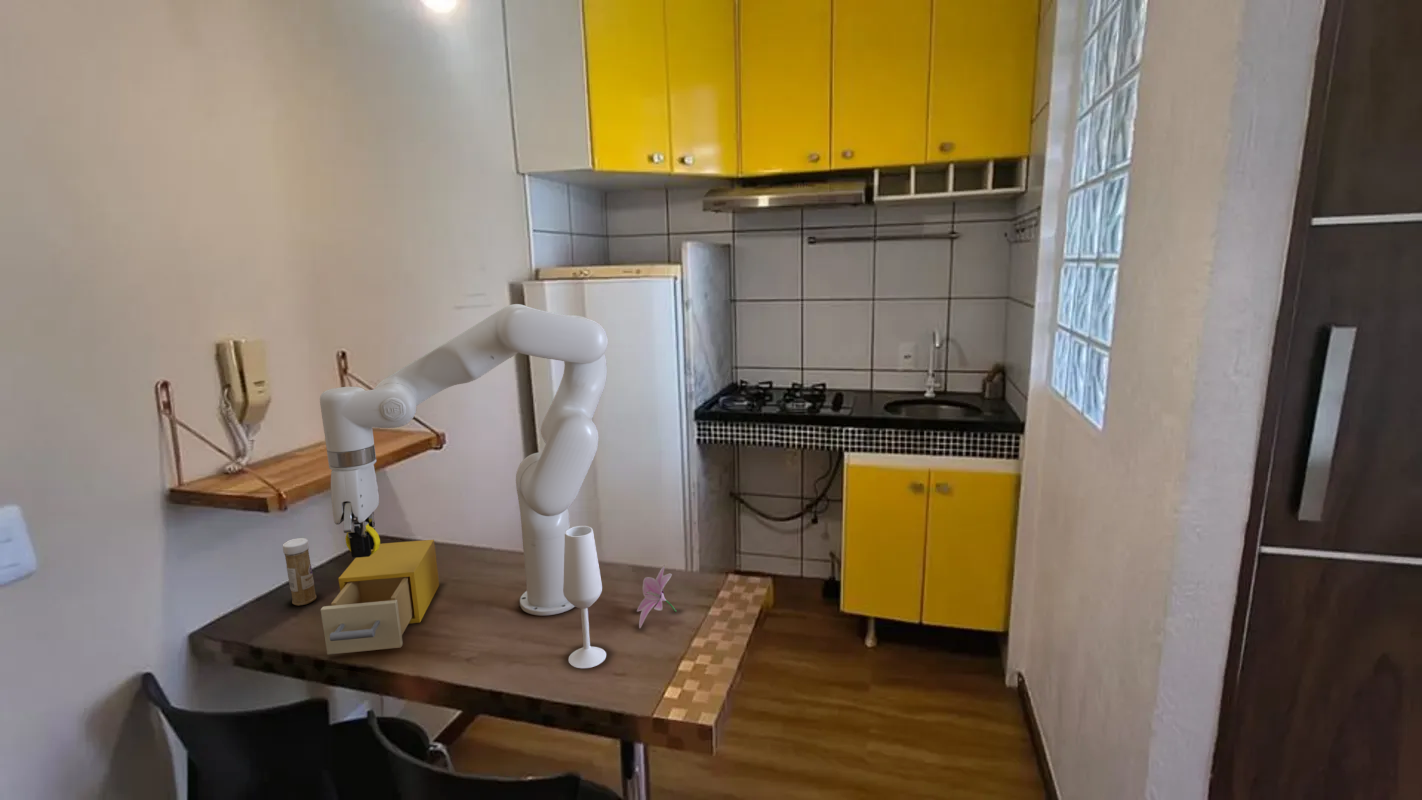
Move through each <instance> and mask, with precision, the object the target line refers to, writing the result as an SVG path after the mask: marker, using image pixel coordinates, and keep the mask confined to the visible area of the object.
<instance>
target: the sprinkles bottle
mask: <svg viewBox="0 0 1422 800" xmlns="http://www.w3.org/2000/svg"><path fill="white" fill-rule="evenodd" d="M309 548H310V545H309V540H308V538H305V537H299V538H292V539H289V540H287V541H285V542H284V543H283V544H282V552H283V554H284V558H285V564H286V572H287V578H288V585H289V590H290V593H291V599H292V600H291V603H292V605H294V606H299V607H300V606H306V605H308V604H311V603H312V602H314V601H316V599H317V594H316V589H315V579H314V574H313V569H312V564H311V559H310V558H311V557H310V552H309Z"/></svg>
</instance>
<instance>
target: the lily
mask: <svg viewBox="0 0 1422 800" xmlns="http://www.w3.org/2000/svg"><path fill="white" fill-rule="evenodd" d="M665 567H666V564H663V566H661V568H660V569H659V572H658V574H657V576H656V578H654V577H651V576H645V577H644V578H643V581H642V594H643V597H644V598H643V599H642V601H641V602H640V603H639V604H638V607H637V610H636V612H637V613H638V612H640V615H639V620H638V628H639V629H641V628H642V627H643V624H644V622H645V621H646V619H647V617H648V615H649V613H650V612H651V610H652V609H653V610H655V611H663V608H664V607H663V602H666V603H667V604H668V605H669V606H670V607H671V609H672V610H673V611H674V612H675V613H677V610H676V608H675V607H674V606H673V604H672V603H671V602H670V601H669V600H667V599H666V597H665V593H664V591H665V590H664V588H665V587H666V585H667V584H668V582H669V581H670V579H671V578H672V576H673V573H666V574H665V569H666V568H665Z"/></svg>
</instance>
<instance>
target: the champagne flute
mask: <svg viewBox="0 0 1422 800" xmlns="http://www.w3.org/2000/svg"><path fill="white" fill-rule="evenodd" d="M602 592H603V583H602V578H601V570H600V565H599V559H598V552H597V546H596V540H595V534H594V529H593V527H591V526H588V525H574V526H572V527H571V526H570V528H569V529H567V530H566V531H565V545H564V583H563V593H564V596H565V598H566V599H567V600H568V601H569V602H570V603H571V604H572V605H574V606H575V608H577V609H580V618H581V619H580V620H581V633H582V644H583V645H582V647H581V648H578V649H576V650H574V651H573V652H571V653H570V655H569V656H568V663H569V664H570V665H571V666H572V667H574V668H577V669H591V668H593V667H596V666H599V665H601V664H602V663H603V662H604V661H605V660H606V658H607V651H605V650H604V649H603V648H601V647H599V646H592V645H591V639H590V637H591V636H590V623H589V608H590V607H591V606H593V604H595V602H597V600H598V599H600V598H599V597H601V594H602Z"/></svg>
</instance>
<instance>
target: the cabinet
mask: <svg viewBox="0 0 1422 800" xmlns="http://www.w3.org/2000/svg"><path fill="white" fill-rule="evenodd" d="M371 551H373V550H371ZM400 577H410V583H411V591H412V599H413V607H414V614H413V616H412V618H411V620H410V622H409V623H408V625H409V624H419V623H421V621H422V620H423V618H424V616H425V614H426V612H427V610H428V609H429V606H430V604H431V602H432V600H433V598H434V597H435V594H436V593H437V591H438V589H439V587H440V579H439V569H438V562H437V552H436V545H435V539H424V540H423V539H422V540H411V541H410V540H409V541H398V542H397V541H396V542H384V543H380V546H379V549H378V550H377V551H376V552H375V553H374V554H372V555H370V556H369V557H358V558H353V560H352V561H351V563H350V564H349V565H348V566H347V567H346V569H345V570H344V571H343V572H342V574H341V575H340V576H339V577H338V586H339V593H340V592H341V590H342V589H343V588H344V587H345V585H346V584H347V583H348V582H353V581H365V580H376V579H388V578H400Z"/></svg>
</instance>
